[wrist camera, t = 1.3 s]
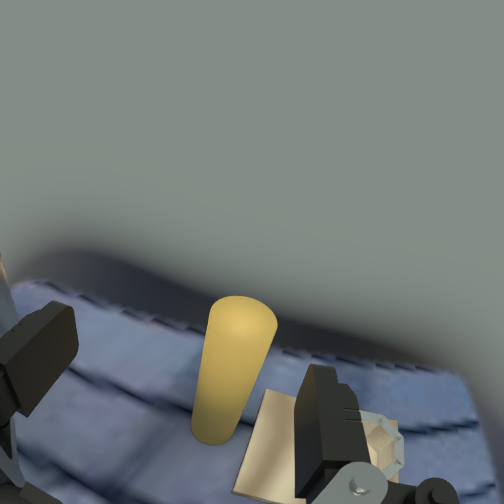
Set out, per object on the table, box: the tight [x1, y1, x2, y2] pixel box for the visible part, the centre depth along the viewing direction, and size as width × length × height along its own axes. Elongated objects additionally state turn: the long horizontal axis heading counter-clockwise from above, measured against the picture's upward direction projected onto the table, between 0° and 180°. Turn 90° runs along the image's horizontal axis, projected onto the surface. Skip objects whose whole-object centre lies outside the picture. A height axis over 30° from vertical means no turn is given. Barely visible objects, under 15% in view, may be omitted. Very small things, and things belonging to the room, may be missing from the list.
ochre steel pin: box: [191, 296, 277, 445], centre depth 24 cm, size 4×4×16 cm
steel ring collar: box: [359, 410, 404, 480], centre depth 24 cm, size 9×9×4 cm
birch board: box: [232, 389, 398, 504], centre depth 26 cm, size 17×13×1 cm
